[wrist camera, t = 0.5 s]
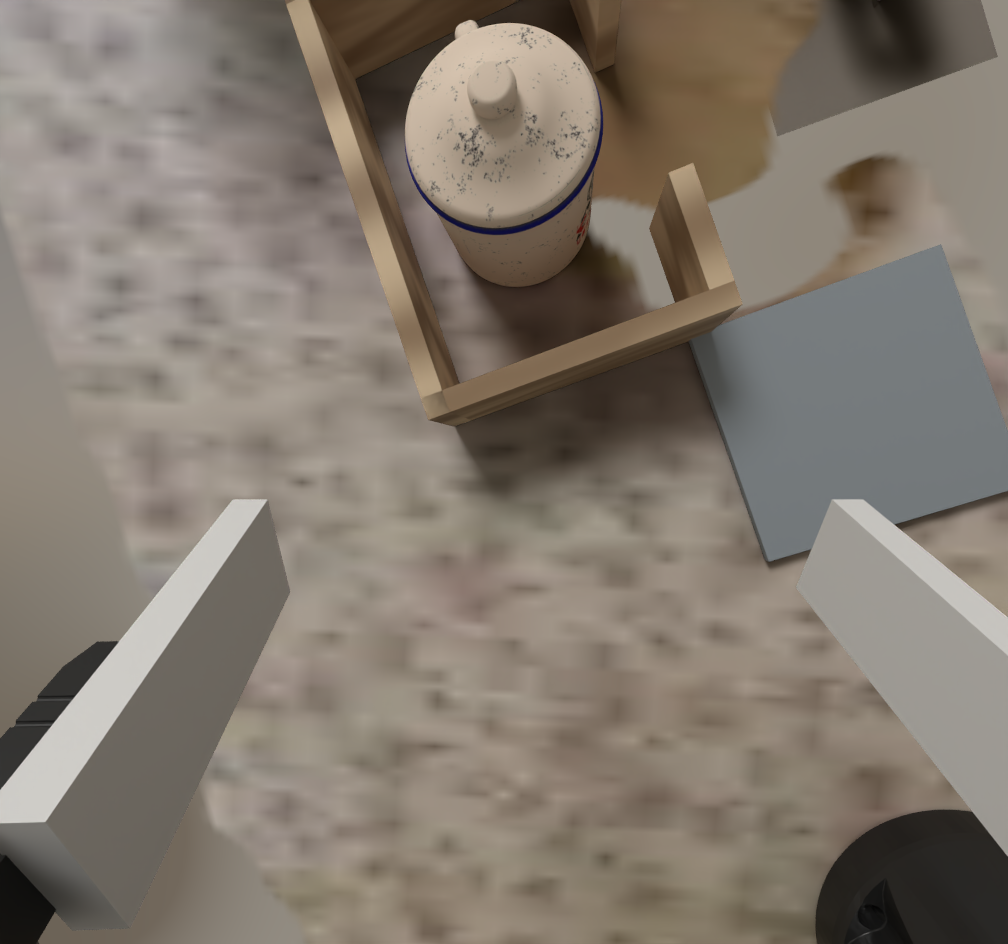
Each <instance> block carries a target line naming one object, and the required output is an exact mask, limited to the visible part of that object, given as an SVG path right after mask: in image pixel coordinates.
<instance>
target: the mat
mask: <svg viewBox="0 0 1008 944" xmlns="http://www.w3.org/2000/svg"><path fill="white" fill-rule="evenodd" d="M689 344H690V346H691V349H692V352H693V355H694V358H695V361H696V364H697V367H698V369H699V372H700V375H701V378H702V381H703V384H704V387H705V389H706V392H707V395H708V398H709V401H710V404H711V407H712V409H713V412H714V415H715V418H716V421H717V424H718V427H719V430H720V432H721V435H722V438H723V441H724V444H725V447H726V450H727V452H728V455H729V458H730V461H731V464H732V467H733V470H734V472H735V475H736V478H737V481H738V484H739V487H740V490H741V493H742V495H743V498H744V501H745V504H746V507H747V510H748V513H749V515H750V518H751V521H752V524H753V527H754V530H755V533H756V535H757V538H758V541H759V544H760V547H761V550H762V553H763V556H764V558H765V560H767V561H768V562H769V561H773V560H776V559H780V558H783V557H786V556H790V555H793V554H796V553H800V552H803V551H807V550H810V549H812V547H813V545H814V542H815V540H816V537H817V535H818V532H819V530H820V528H821V525H822V523H823V520H824V518H825V515H826V513H827V510H828V508H829V505H830V503H831V500H832V499H863V500H864V501H866V502H867V503H868V504H869V505H871V506H872V507H873V508H874V509H875V510H877V511H878V512H879V513H880V514H882V515H883V516H884V517H885V518H887V519H888V520H889V521H890V522H891V523H893V524H897V523H901V522H904V521H908V520H911V519H914V518H918V517H921V516H924V515H928V514H931V513H934V512H938V511H941V510H945V509H948V508H951V507H955V506H958V505H961V504H965V503H968V502H972V501H975V500H978V499H982V498H985V497H988V496H992V495H995V494H998V493H1002V492H1005V491H1008V431H1007V428H1006V425H1005V422H1004V420H1003V417H1002V414H1001V411H1000V408H999V406H998V403H997V400H996V397H995V394H994V391H993V389H992V386H991V383H990V380H989V377H988V375H987V372H986V369H985V366H984V363H983V361H982V358H981V355H980V352H979V349H978V347H977V344H976V341H975V338H974V335H973V333H972V330H971V327H970V324H969V321H968V318H967V316H966V313H965V310H964V307H963V304H962V302H961V299H960V296H959V293H958V290H957V288H956V285H955V282H954V279H953V276H952V274H951V271H950V268H949V265H948V262H947V260H946V257H945V254H944V251H943V248H942V246H941V245H938V246H935V247H932V248H930V249H927V250H924V251H921V252H919V253H916V254H913V255H910V256H908V257H905V258H902V259H899V260H897V261H894V262H891V263H888V264H886V265H883V266H880V267H877V268H875V269H872V270H869V271H866V272H864V273H861V274H858V275H856V276H853V277H850V278H847V279H845V280H842V281H839V282H836V283H834V284H831V285H828V286H825V287H823V288H820V289H817V290H814V291H812V292H809V293H806V294H803V295H801V296H798V297H795V298H792V299H790V300H787V301H784V302H782V303H779V304H776V305H773V306H771V307H768V308H765V309H762V310H760V311H757V312H754V313H751V314H749V315H746V316H743V317H740V318H738V319H735V320H732V321H729V322H727V323H724V324H721V325H718V326H717V327H716V328H715V329H714V330H713V331H712V332H709V333H707V334H704V335H701V336H698V337H696V338H693V339H691V340H690V341H689Z"/></svg>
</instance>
